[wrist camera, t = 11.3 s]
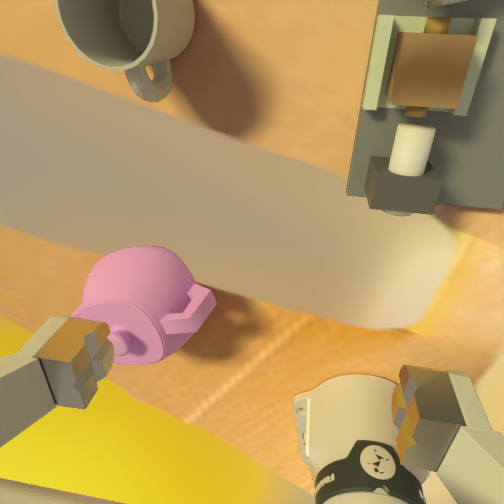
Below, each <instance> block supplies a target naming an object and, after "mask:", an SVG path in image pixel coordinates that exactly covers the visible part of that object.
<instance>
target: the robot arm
mask: <svg viewBox="0 0 504 504" xmlns="http://www.w3.org/2000/svg"><path fill="white" fill-rule="evenodd" d="M109 334H110V329H109V325H108V324H107V323H105V322H101V321H95V320H89V319H83V318H77V317H69V316H63V315H54V316H52V317H50V318H49V320H48V321H47V322H46V323H45V324H44V325H43V326H42V327H41V328H40V329H39V330H38V331H37V332H36V333H35V334H34V335H33V336H32V338H30V340H29V341H28V342H27V343H26V344H25V345H24V346H23V347H22V348H21V349H20V350H19V351H18V352H17V353H16V354H15V355H13V354H9V355H7V356H5V357H3V358H0V447H1V446H3V445H4V444H6V443H7V442H8V441H10V440H11V439H13V438H14V437H15V436H17V435H18V434H20V433H21V432H22V431H24V430H25V429H26V428H28V427H29V426H31V425H32V424H33V423H35V422H36V421H37V420H39V419H40V418H42V417H43V416H44V415H46V414H47V413H48V412H50V411H51V410H52V409H54V408H55V407H56V405H57V406H64V407H72V408H78V409H86V407H87V406H88V404H89V403H90V401H91V399H92V398H93V396H94V395H95V393H96V392H97V390H98V387H97V382H98V381H99V380H101V379H103V378H104V377H106V376H107V374H108V372H109V370H110V369H111V366H112V363H113V360H114V347H113V344H112V342H111V341H110V340H109V339H108V338H107V337H108V335H109ZM399 378H400V384H398V385H397V384H395V383H393V382H391V381H389V380H386V379H384V378H380V377H376V376H371V375H362V374H353V375H344V376H339V377H335V378H332V379H330V380H328V381H325V382H324V383H322V384H320V385H319V386H318V387H316V388H315V389H313V390H311V391H307V392H303V393H300V394H297V395H295V396H294V397H293V408H294V414H295V420H296V426H297V433H298V439H299V445H300V451H301V457H302V460H303V461H304V462H305V463H307V464H309V465H310V470H311V475H312V480H313V485H314V487H315V492H314V502H315V504H426V500H425V498H424V495H423V491H422V486H421V484H422V483H424V482H425V480H426V478H427V477H429V474H430V471H434V472H437V475H438V477H439V478H440V480H441V481H442V482H443V484H444V485H445V487H446V488H447V489H448V491H449V492H450V494H451V495H452V496H453V498H454V499H455V501H456V502H457V503H458V504H504V436H503V435H502V434H501V433H500V432H495V431H492V429H491V426H490V424H489V421H488V419H487V417H486V414H485V412H484V410H483V407H482V405H481V402H480V400H479V398H478V395H477V393H476V391H475V388H474V386H473V383H472V381H471V379H470V376H469V375H468V374H467V373H463V372H456V371H448V370H440V369H433V368H425V367H418V366H410V365H403V366H402V368H401V370H400V373H399ZM0 504H124V503H119V502H115V501H110V500H105V499H100V498H95V497H91V496H85V495H81V494H76V493H71V492H66V491H61V490H56V489H52V488H47V487H42V486H37V485H32V484H27V483H22V482H17V481H13V480H7V479H2V478H0Z"/></svg>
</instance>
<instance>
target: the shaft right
mask: <svg viewBox="0 0 504 504" xmlns="http://www.w3.org/2000/svg"><path fill="white" fill-rule="evenodd" d="M462 1H467V0H425V9H427V8H432V7H437V6H442V5H447V4H452V3H457V2H462Z"/></svg>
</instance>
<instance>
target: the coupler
mask: <svg viewBox="0 0 504 504" xmlns="http://www.w3.org/2000/svg"><path fill="white" fill-rule="evenodd" d="M450 22H451V17H427V19H426V24H425V28H424V32H423V33H410V32H398V36H397V41H396V46H395V51H394V56H393V61H392V66H391V71H390V76H389V81H388V86H387V91H386V97H387V98H388V99H389V100H390V101H391V103H392V104H393V105H401V106H406V110H405V115H407V116H411V117H426V114H427V110H428V107H433V108H450V109H457V105H458V102H459V99H460V95H461V92H462V89H463V85H464V82H465V79H466V75H467V72H468V68H469V65H470V62H471V58H472V55H473V52H474V48H475V45H476V42H477V38H478V36H476V35H460V34H447V33H448V29H449V26H450Z"/></svg>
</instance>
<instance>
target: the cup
mask: <svg viewBox="0 0 504 504" xmlns="http://www.w3.org/2000/svg"><path fill="white" fill-rule="evenodd" d="M54 5H55V10H56V13H57V17H58V21H59V24H60V26H61V28H62V30H63V32H64V34H65V36H66V38H67V40H68V41H69V42H70V44H71V45H72V46H73V48H74V49H75V50H76V51H77V52H78V53H79V54H80V55H81V56H82V57H83V58H84V59H85V60H87V61H88V62H90V63H92V64H93V65H95V66H97V67H99V68H102V69H106V70H110V71H122V70H124V71H125V74H126V76H127V79H128V81H129V83H130V86H131V88H132V89H133V91H134V92H135V93H136V94H137V96H138V97H140V98H141V99H143V100H146V101H149V102H159V101H161V100H162V99H164V98H165V97H166V96H167V95H168V94H169V93H170V90H171V87H172V72H171V66H170V61H169V60H170V59H172V58H174V57H176V56H178V55H179V54H180V53H181V52H183V51H184V50H185V48H186V47H187V45H188V44H189V42H190V40H191V37H192V35H193V32H194V26H195V10H194V4H193V1H192V0H54ZM151 64H152V67H153V72H154V79H153V81H152V80H151V79H150V78H149V76H148V74H147V71H146V68H145V66H146V65H151Z"/></svg>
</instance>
